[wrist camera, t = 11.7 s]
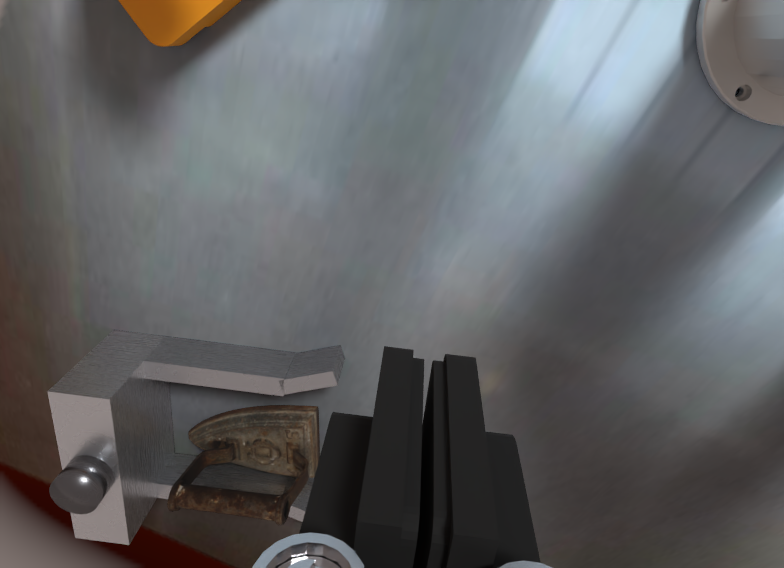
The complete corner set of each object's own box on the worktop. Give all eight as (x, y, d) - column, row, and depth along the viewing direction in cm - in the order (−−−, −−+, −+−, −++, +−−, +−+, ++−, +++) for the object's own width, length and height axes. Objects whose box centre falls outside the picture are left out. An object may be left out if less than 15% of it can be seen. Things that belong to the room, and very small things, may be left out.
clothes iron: (331, 467, 48) (276, 572, 39) (217, 436, 50) (143, 528, 42) (328, 406, 44) (266, 508, 36) (205, 376, 47) (122, 464, 39)
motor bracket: (345, 345, 41) (321, 433, 32) (333, 497, 48) (310, 606, 39) (112, 316, 42) (22, 395, 33) (131, 470, 48) (60, 572, 39)
